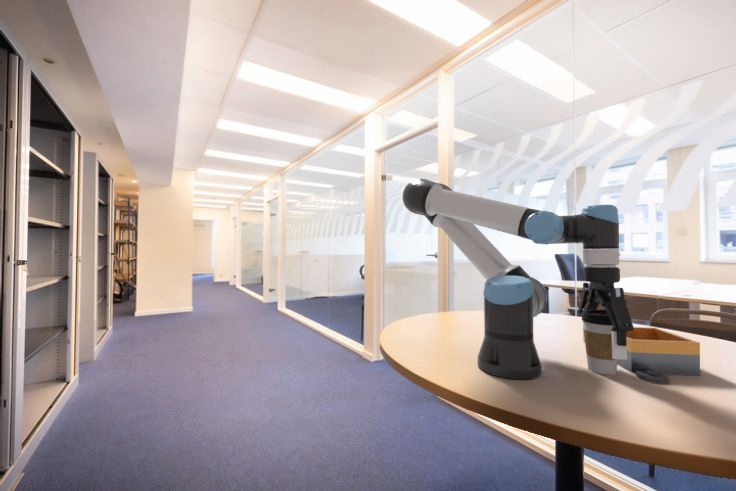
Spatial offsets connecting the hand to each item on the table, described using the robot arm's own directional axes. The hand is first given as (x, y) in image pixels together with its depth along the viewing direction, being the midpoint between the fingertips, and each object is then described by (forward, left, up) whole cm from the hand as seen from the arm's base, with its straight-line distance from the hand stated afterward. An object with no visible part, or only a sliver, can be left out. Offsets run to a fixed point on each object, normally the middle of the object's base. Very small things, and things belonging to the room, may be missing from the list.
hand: (603, 350), depth 83 cm
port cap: (+9, -4, -6) cm, 11 cm away
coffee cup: (0, 0, -5) cm, 5 cm away
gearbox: (+14, +7, -5) cm, 16 cm away
